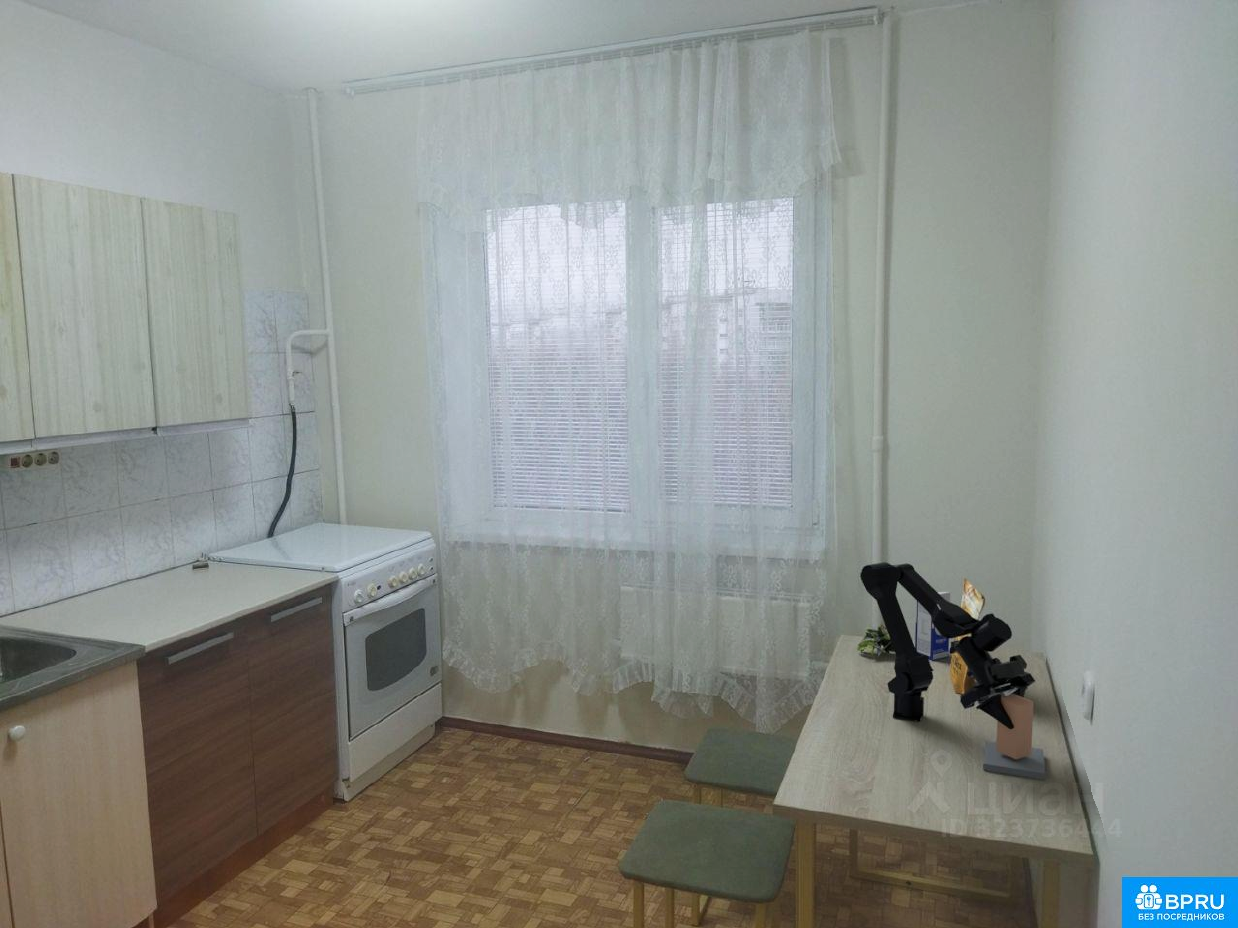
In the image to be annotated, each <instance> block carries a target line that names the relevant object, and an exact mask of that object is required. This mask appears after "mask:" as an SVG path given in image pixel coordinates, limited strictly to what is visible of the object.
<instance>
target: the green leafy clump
mask: <svg viewBox="0 0 1238 928" xmlns="http://www.w3.org/2000/svg"><path fill="white" fill-rule="evenodd" d="M882 647H883V648H882ZM869 648H870V651H869V652H870V653H871V655H872V656H874V650H875V649H876V653H877V657H876V658H875V661H878V658H879V657H880V656H881V654H882V652H885V653H887V654H889V653H890V652H891V653H895V651H894V648H893V645H892V643H891V640H890V637H889V634H888V631H887V629H886V626H885V624H880V625H879V626H878V627H874V628H872V629H871V628H869V627H866V631H865V635H864V636H863V638H862V640H860V642H859V643H858V646H857V648H856V649H857V651H860V653H863V652H864V650H866V649H869Z"/></svg>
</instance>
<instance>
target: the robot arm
mask: <svg viewBox="0 0 1238 928" xmlns="http://www.w3.org/2000/svg"><path fill="white" fill-rule="evenodd" d="M859 577H860V580H861V582H862V584H863V587H864V589H865V590H866V592H867V593H868V594H869V595H870V596H871V597H872V598H873V599H875V601H876V602H877V603H876V604H877V605H878V608H879V612H880V614H881V618H882V620H883V622H884V626H886V629H887V631H888V634H889V637H890V640H891V643H892V645H893V648H894V651H895V652H894V654H895V661H894V667H893V669H894V673H895V676H894V677H893V678H892V679H891V680H889V681H888V682H887V689H888V692H889V693H891V694H893V714H892V718H895V719H899V720H906V721H907V720H908V721H914V722H920V721H921V719H922V718H923V717H924V713H925V712H924V711H925V697H923V695H922V693H924V692H927V691H928V689H929V686H931V684H932V681H933V680H934V674H933V672H934V669H933V667H932V665H931V664H930V663H931V662H930V660H929V658H928V656H927V655H923V656H922V655H921V654H919V653H918V652H917V651H916V649H915V643H914V642H913V638H912V635H911V633H910V630H909V628H908V625H907V622H906V619H905V617H904V614H903V611H902V608H901V606H900V603H899V601H898V597H897V590H898V589H897V588H898V584H899V585H901V587H902V588H904V589H905V590H906V592H907V593H909V595H910V596H912V598H913V599H914V600H915V601H916V600H917V601H918V602H919V603H920V604H921V605H922V606H923V607H924V608H925V610H926V611H927V612H928V613H929V614H930V615H931V619H932V623H933V625H934V626H935V627H936V629H937V630H938V631H939V633H940V634H941V635H942V636H943V637H944V638H949V639H955V638H956V637H960V636H964V635H967V634H971V636H970V637H969V636H965V637H963V638H962V639H960V640H959V641H958V640H957V641H954V640H953V641H950V646H949V654H951V655H952V654H953V653H957V652H958V653H959V654H960V656H961V658H962V659H963V661H964V662H965V664H966V666H967V667H968V669H969V670H970V671H969V672H968V673H967V675H968V676H969V677H972V676H973V677H974V678H975V680H974V681H976V684H978V685H974V687H972V688H971V689H969V690H968V691H967V692H965V693H964V694H960V698H959V702H960V703H961V705H962V707H963V709H964V710H967V709H970V708H973V707H974V706H975V703H978V704H979V705H977V706H975V709H976V710H981V711H982V712H983V713H984V714H985V713H986V715H989V716H990V717H992V718H993V719H994V720H996V721H997V720H998V721H999V722H1000V723H1002V724H1003V725H1005V726H1006V727H1007V728H1009V729H1013V728H1014V725H1013V723H1012V721H1011V719H1010V717H1009V716H1008V714H1007V712H1006V710H1005V709H1004V707H1003V705H1002V703H1001V697H1002V693H1003V694H1004V696H1008V695H1011V694H1015V695H1018V696H1021V697H1023V698H1025V694H1026V690H1028V687H1030V686H1031V685H1033V684H1034V683H1035V682H1036V679H1034V677H1033V675H1032V674H1031V673H1029V672H1027V671H1025V669H1027V667H1028V664H1027V662H1026V660H1025V658H1024V657H1022V655H1021V654H1018V655H1017V654H1016V655H1013V656H1010V657H1009V661H1005V662H1002V661H1001V660H1000V659H999V658H998V657H995V658H993V657H992V655H991V654H990V652H994V651H996V650H997V649H998V648H1000V647H1001V646H1002V645H1003V644H1005V643H1006V642H1007V641H1009V640H1010V639H1011V638H1012V637H1013V632H1012V629H1011V627H1010V625H1009V624H1008V623H1006V622H1005V621H1004V620H1003V619H1001V618H999V617H996V616H995V615H994V613H992V612H990V613H987V614H985V615H984V616H983V617H982V618H981V619H980V620H979V619H978V620H977V619H975V618H973V617H971V615H970V614H969V613H968V612H966V611H965V610H964V609H962V608H961V606H959V605H957V604H956V603H952V602H951V601H950V602H948V601H946V600H945V599H944V598H943V597H942V596H941V595H940V594H939V593H938V591H937V590H936V589H935V588H934V587H933V586H931V584H929V583H928V582H927V581H926V580H925V579H924V578H923V576H921V575H920V574H919V573H918V572H917V571H916V569H915V568H914V566H913V565H912V564H909V563H901V564H894V565H893V564H890V563H889V562H886V561H882V562H879V563H873V564H872V563H870V564H866V565H864V566H863V567H862V569H861V572H860V576H859Z"/></svg>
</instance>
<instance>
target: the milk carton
mask: <svg viewBox="0 0 1238 928" xmlns="http://www.w3.org/2000/svg"><path fill="white" fill-rule="evenodd" d="M937 592H938V591H937ZM938 593H939V594H940V595H941V596H942V597H943V598H944V599H945V600H946V601H948V602H950V603H951V591H939V592H938ZM914 634H915V635H914V638H915V639H914V646H915V649H916V651H917V652H918V653H919V654H921V655H922V656H923V655H927V656H928V658H929V661H931V662H932V661H933V662H934V661H937V660H941V659H946V658H949V654H950V653H949V650H950V646H949V644H950V638H944V637H943V636H942V635H941V634H940V633H939V631H938V630H937V629H936V627H935V626H934V625H933V623H932V619H931V615H930V614H929V613H928V612H927V611H926V610H925V608H924V607H923V606H922V605H921V604H920V603H919V602H918V601H917V600H916V599H915V631H914Z"/></svg>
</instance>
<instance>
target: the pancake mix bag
mask: <svg viewBox="0 0 1238 928" xmlns="http://www.w3.org/2000/svg"><path fill="white" fill-rule="evenodd" d="M961 580H962V593H961V594H962V595H961V603H960V607H961V608H962V609H964V610H965V611H966V612H968V613H969V614H970V615H971V617H973V618H975V619H977V620H979V618H980V616H981V614H982V611H983V610H984V607H985V604H986V598H985V596H984V595H983V594H982V593H981V592H980V591H979V589H977V588H976V587H975V585H974V584H973V583H972V582H970V581H969V579H967V578H966V577H965V578H962V579H961ZM965 636H969V637H970V636H971V634H967V635H964V636H960V637H956V638H954V640H953V641H957V640H958V641H959V640H960V639H962V638H963V637H965ZM969 671H970V670H969V669H968V667H967V666H966V664H965V662H964V661H963V659H962V658H961V656H960V654H959V653H958V652H957V653H953V654H951V660H950V666H949V678H950V681H951V684H952V687H953V689H954V692H955V694H958V693H959V694H958V695H962V694H964V693H965V692H967V691H968V690H969V689H971V688H972V687H975V681H976V680H975V678H974V677H973V676H972V677H969V676H968V675H967V673H968V672H969Z"/></svg>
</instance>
